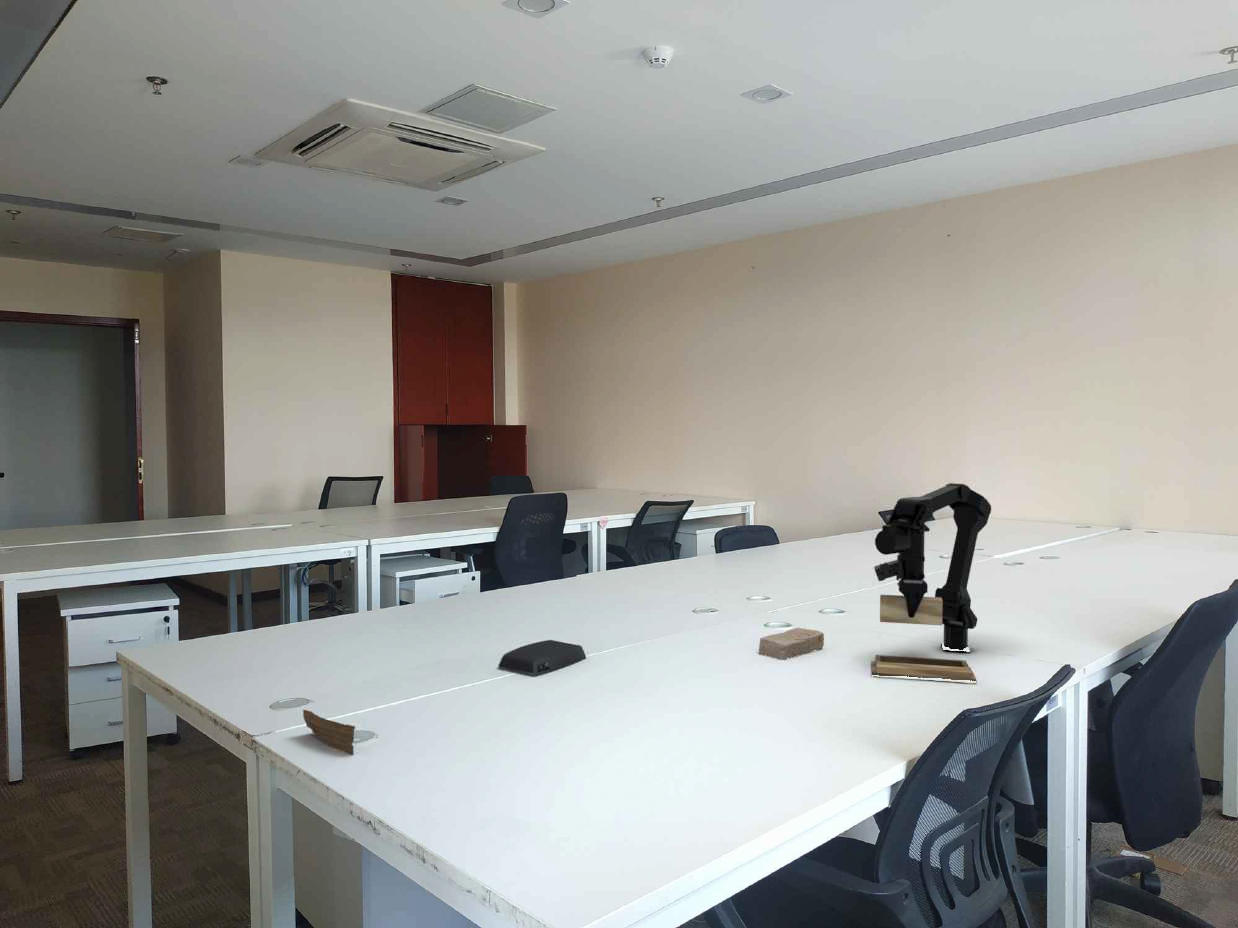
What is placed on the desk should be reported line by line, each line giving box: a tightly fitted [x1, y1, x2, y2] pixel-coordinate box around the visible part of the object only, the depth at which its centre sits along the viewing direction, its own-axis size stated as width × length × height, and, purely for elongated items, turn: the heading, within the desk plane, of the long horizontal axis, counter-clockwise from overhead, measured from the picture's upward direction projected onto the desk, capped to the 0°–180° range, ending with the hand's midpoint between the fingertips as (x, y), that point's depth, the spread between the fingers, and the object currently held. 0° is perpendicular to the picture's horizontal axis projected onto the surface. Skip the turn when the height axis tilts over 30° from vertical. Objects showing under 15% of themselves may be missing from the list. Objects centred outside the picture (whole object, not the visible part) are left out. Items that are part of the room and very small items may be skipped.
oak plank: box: [879, 594, 943, 626], centre depth 206 cm, size 4×14×6 cm, turn 74°
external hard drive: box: [497, 639, 587, 678], centre depth 206 cm, size 13×19×4 cm
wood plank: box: [302, 709, 356, 756], centre depth 154 cm, size 15×2×5 cm, turn 51°
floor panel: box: [870, 654, 977, 682], centre depth 196 cm, size 10×22×2 cm, turn 75°
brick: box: [758, 627, 825, 661], centre depth 216 cm, size 17×8×5 cm, turn 130°
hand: (910, 615), depth 206 cm, fingers closed on oak plank, 3 cm apart
